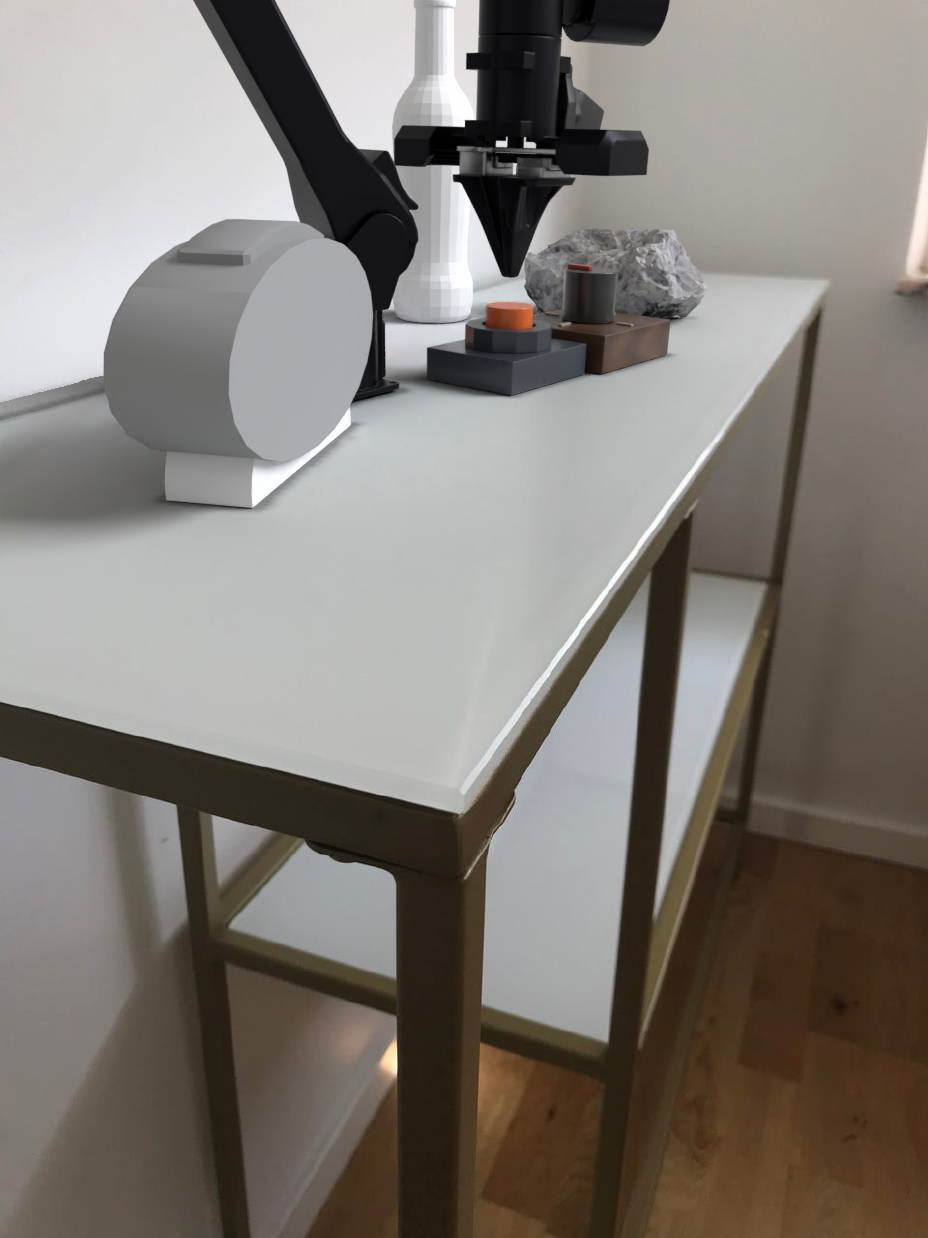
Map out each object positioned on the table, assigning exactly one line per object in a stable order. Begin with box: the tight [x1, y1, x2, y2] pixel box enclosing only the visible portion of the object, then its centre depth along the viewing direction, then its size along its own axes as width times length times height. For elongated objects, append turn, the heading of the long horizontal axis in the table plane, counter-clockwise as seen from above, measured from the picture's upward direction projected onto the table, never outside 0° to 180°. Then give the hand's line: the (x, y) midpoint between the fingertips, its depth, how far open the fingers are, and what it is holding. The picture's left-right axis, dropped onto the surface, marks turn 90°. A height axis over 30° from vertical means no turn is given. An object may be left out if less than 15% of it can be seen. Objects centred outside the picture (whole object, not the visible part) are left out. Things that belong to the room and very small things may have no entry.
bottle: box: [391, 0, 476, 324], centre depth 98 cm, size 8×8×30 cm
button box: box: [426, 317, 586, 396], centre depth 79 cm, size 10×8×4 cm
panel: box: [533, 309, 671, 375], centre depth 88 cm, size 11×10×3 cm
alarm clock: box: [102, 218, 373, 509], centre depth 56 cm, size 23×6×13 cm, turn 169°
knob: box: [562, 264, 618, 324], centre depth 86 cm, size 4×4×4 cm
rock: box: [523, 227, 708, 319], centre depth 106 cm, size 18×15×10 cm
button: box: [485, 301, 534, 329], centre depth 78 cm, size 4×4×2 cm
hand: (510, 276), depth 77 cm, fingers closed
